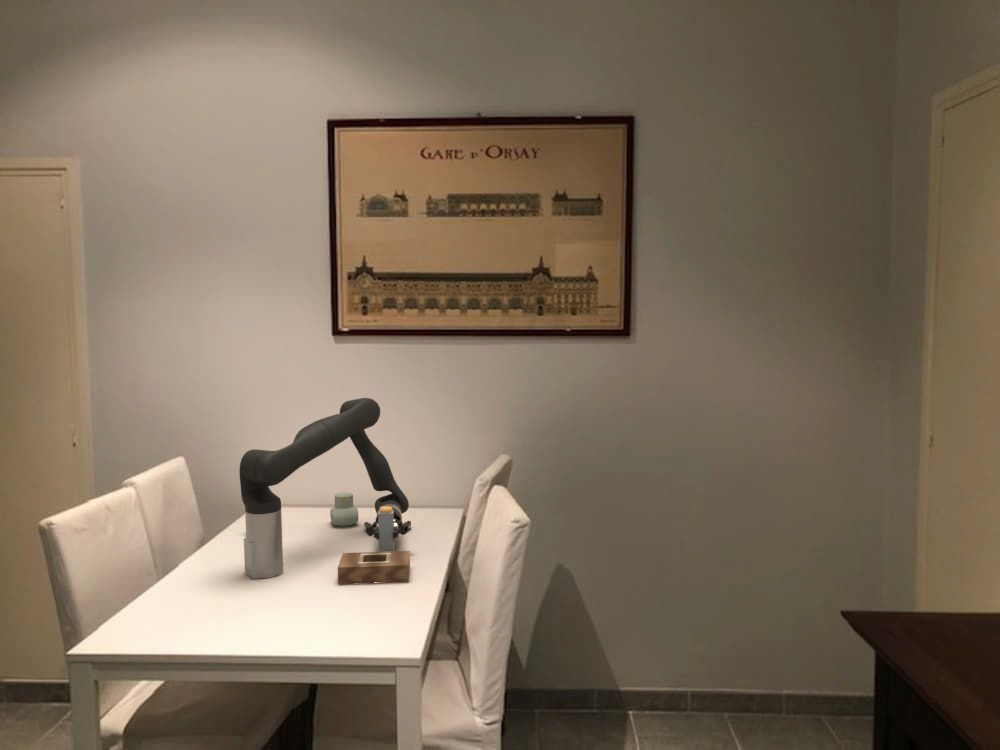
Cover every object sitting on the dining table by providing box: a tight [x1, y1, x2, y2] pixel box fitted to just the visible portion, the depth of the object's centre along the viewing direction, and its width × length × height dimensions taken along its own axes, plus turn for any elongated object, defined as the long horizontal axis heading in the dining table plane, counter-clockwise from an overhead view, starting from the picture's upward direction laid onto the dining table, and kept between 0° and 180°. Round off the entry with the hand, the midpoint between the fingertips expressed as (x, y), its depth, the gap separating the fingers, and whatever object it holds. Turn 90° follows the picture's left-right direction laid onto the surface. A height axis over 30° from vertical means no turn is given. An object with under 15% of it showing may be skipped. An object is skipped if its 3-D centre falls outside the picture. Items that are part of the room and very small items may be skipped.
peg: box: [378, 506, 395, 552], centre depth 223 cm, size 4×4×15 cm
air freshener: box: [329, 491, 359, 527], centre depth 261 cm, size 11×8×10 cm
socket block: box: [337, 550, 411, 585], centre depth 211 cm, size 18×12×5 cm, turn 95°
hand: (385, 535), depth 220 cm, fingers closed on peg, 4 cm apart
